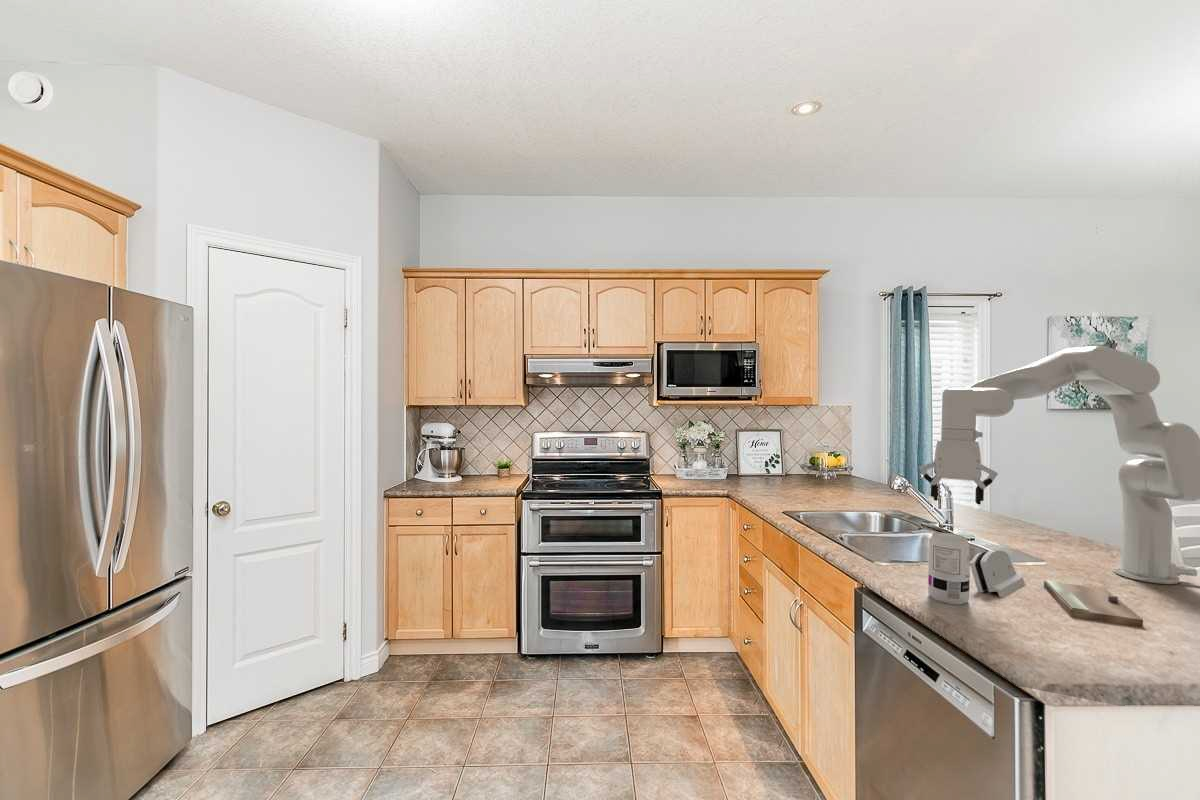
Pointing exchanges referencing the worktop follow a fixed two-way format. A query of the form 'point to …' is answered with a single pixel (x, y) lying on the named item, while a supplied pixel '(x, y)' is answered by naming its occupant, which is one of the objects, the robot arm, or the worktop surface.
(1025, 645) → the worktop surface
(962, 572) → the supplement can
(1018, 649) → the worktop surface
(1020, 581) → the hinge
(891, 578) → the worktop surface
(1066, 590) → the door panel
